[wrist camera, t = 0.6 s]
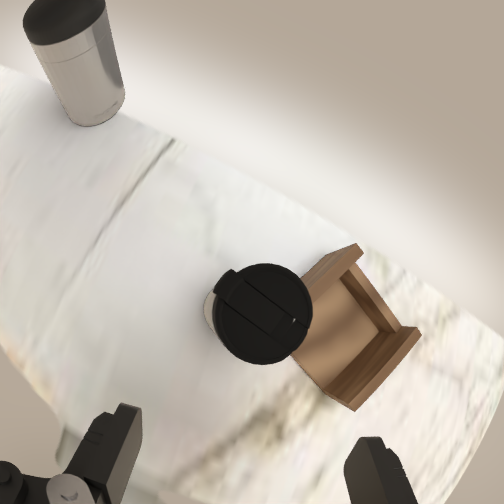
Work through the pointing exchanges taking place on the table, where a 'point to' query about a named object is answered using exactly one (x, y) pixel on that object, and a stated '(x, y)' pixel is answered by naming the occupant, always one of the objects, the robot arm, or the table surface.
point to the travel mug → (260, 312)
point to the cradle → (350, 331)
